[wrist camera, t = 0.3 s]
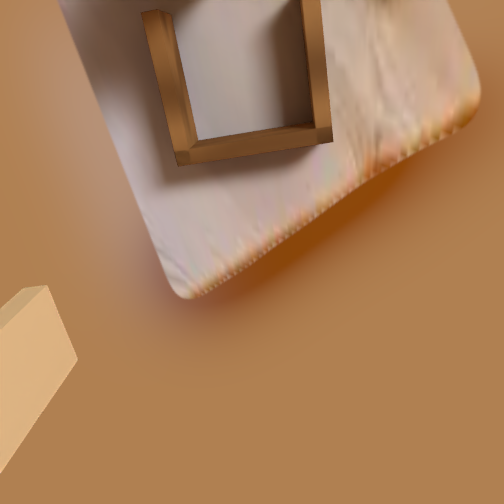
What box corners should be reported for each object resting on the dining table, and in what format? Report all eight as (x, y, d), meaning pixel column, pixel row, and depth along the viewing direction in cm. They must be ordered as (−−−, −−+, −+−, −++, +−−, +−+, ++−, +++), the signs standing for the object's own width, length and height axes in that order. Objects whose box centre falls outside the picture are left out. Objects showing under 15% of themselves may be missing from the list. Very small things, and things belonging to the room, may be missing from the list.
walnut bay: (156, 17, 34) (140, 12, 30) (314, -15, 32) (317, -25, 28) (188, 156, 38) (177, 166, 34) (328, 133, 36) (333, 142, 33)
